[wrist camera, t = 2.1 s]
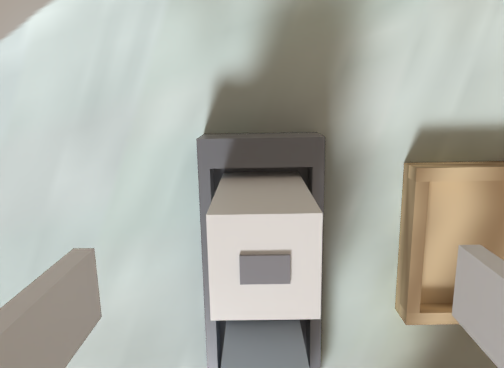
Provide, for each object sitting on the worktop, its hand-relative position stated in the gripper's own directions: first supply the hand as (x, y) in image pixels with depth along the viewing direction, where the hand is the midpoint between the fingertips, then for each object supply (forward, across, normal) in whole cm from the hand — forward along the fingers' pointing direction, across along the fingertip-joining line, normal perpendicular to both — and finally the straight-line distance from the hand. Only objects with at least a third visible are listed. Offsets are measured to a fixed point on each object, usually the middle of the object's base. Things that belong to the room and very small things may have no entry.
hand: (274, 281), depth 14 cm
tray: (+12, +14, -3) cm, 18 cm away
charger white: (+10, 0, 0) cm, 10 cm away
